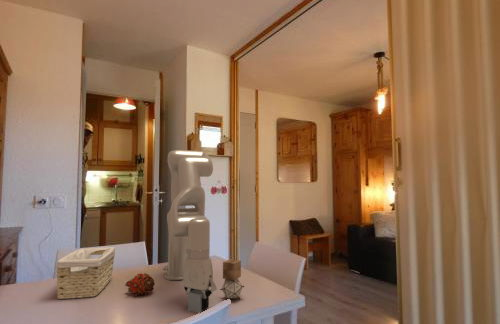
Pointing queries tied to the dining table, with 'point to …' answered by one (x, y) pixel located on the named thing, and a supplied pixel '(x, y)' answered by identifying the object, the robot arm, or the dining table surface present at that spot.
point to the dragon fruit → (141, 284)
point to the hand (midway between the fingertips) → (198, 306)
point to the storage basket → (84, 272)
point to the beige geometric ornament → (232, 288)
